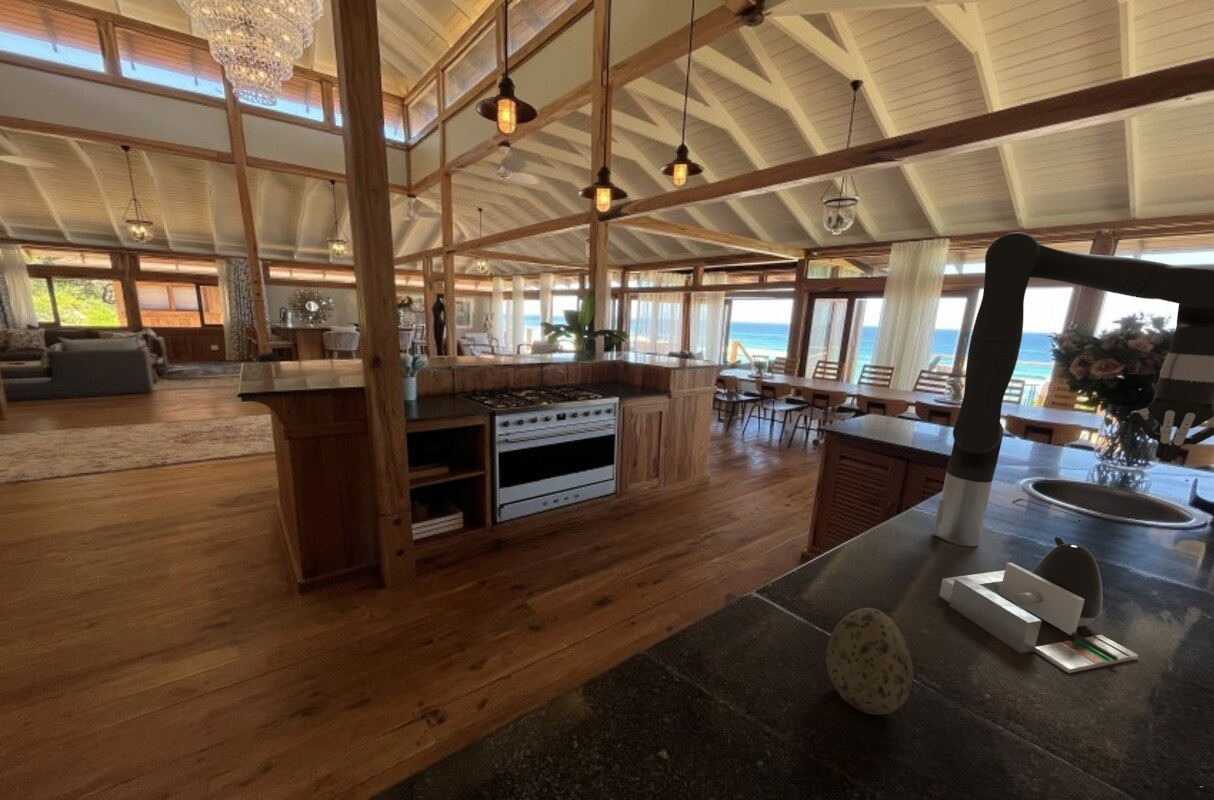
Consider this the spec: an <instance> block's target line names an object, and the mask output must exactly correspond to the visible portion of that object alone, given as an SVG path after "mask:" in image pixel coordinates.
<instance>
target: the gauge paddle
mask: <svg viewBox="0 0 1214 800" xmlns="http://www.w3.org/2000/svg"><path fill="white" fill-rule="evenodd" d="M1004 570H1005V573H1004V577H1003V581H1002V586H1001V590H1000V595H1002V596H1003V597H1005V598H1004V599H1006V600H1008V601H1009V602H1011V603H1013V604H1015V605H1016V606H1018V607H1020V608H1023V610H1025V611H1027V612H1029V613H1030V614H1032V615H1034V616H1035V617H1037V618H1039V619H1042V620H1043V621H1044V622H1047V623H1049V624H1051V625H1052V626H1054V627H1055V628H1057V629H1059V630H1060V631H1063V632H1064V633H1066V634H1067V635H1069V636H1071V637H1073V638H1074V639H1078V640H1080V641H1082V642H1083V643H1085V644H1087V645H1088V646H1090V647H1092V648H1094V649H1095V650H1097V651H1099V652H1101V653H1102V654H1104V655H1106V656H1108V657H1109V658H1111V659H1113V660H1114V661H1117V659H1118V657H1117V656H1115V655H1113V654H1111V653H1110V652H1108V651H1106V650H1104V649H1103V648H1101V647H1099V646H1097V645H1096V644H1094V643H1092V642H1090V641H1089V640H1087V639H1085V638H1086V637H1083V636H1082V635H1079V634H1078V633H1077V629H1078V627H1077V626H1078V622H1079V619H1080V615H1081V611H1082V608H1083V604H1084V600H1085V599H1083V598H1081V597H1079V596H1077V595H1075V594H1073V593H1071V592H1069V591H1067V590H1065V589H1063V588H1061V587H1059V586H1057V585H1055V584H1053V583H1051V582H1049V581H1047V580H1045V579H1043V578H1041V577H1039V576H1037V575H1035V574H1033V572H1031V571H1029V570H1027V569H1025V568H1024V567H1021V566H1019V565H1017V564H1016V563H1013V562H1006V565H1005V569H1004Z"/></svg>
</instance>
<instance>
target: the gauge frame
mask: <svg viewBox="0 0 1214 800" xmlns="http://www.w3.org/2000/svg"><path fill="white" fill-rule="evenodd" d="M1004 573H1005V569H1004V570H997V571H991V572H990V571H988V572H982V573H975V574H968V575H966V574H965V575H959V576H951V577H944V578H942V579H941V583H940V584H941V585H940V588H939V597H940V598H941V599H943V600H945V601H946V602H947V603H949V607H950V608H952V609H953V610H955V611H956V612H958V613H959V614H961V615H962V616H964V617H965V618H966V619H968V620H970V621H971V622H973V623H974V624H976V625H977V626H979V627H980V628H982V629H983V630H985V631H986V632H988V633H990V634H991V635H993V636H994V637H995V638H997V639H998V640H1000V641H1001V642H1003V644H1006V645H1007V646H1009V647H1010V648H1011V649H1013V650H1015V651H1017V652H1018V653H1019V654H1025V653H1031V652H1035V653H1036V654H1038V655H1039V656H1041V657H1043V658H1044V659H1045V660H1047V661H1049V662H1050V663H1052V664H1054V666H1056V667H1058V668H1059V669H1061V670H1063V671H1064V672H1066V673H1068V674H1071V673H1076V672H1081V671H1087V670H1091V669H1094V668H1095V669H1096V668H1100V667H1101V668H1102V667H1105V666H1109V665H1115V664H1120V663H1125V662H1128V661H1134V660H1138V656H1139V654H1138V653H1136V652H1133V651H1131V649H1128V648H1126V647H1125V646H1122V645H1120V644H1119V643H1116V642H1115V641H1113V640H1111V639H1110V638H1108V637H1106V636H1104V635H1103V634H1098V635H1092V636H1087V637H1084V638H1085V639H1087V640H1089V641H1090V642H1092V643H1094V644H1096V645H1097V646H1099V647H1101V648H1103V649H1104V650H1106V651H1108V652H1110V653H1111V654H1113V655H1115V656H1117V657H1118V659H1117V661H1114V660H1113V659H1111V658H1109V657H1108V656H1106V655H1104V654H1102V653H1101V652H1099V651H1097V650H1095V649H1094V648H1092V647H1090V646H1088V645H1087V644H1085V643H1083V642H1082V641H1080V640H1078V639H1076V638H1074V639H1071V640H1065V641H1061V642H1055V643H1048V644H1043V645H1038V646H1037V645H1036V644H1037V640H1038V637H1039V632H1040V629H1041V626H1042V622H1043V621H1042V620H1043V619H1042V620H1041V618H1039V617H1038V616H1036V615H1034V614H1032V613H1031V612H1029V611H1027V610H1025V609H1024V608H1023V609H1022V607H1020V606H1019V605H1017V604H1015V603H1013V602H1012V601H1010V600H1008V599H1006V598H1005V597H1003V596H1002V595H1000V590H1001V586H1002V581H1003V577H1004Z"/></svg>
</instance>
